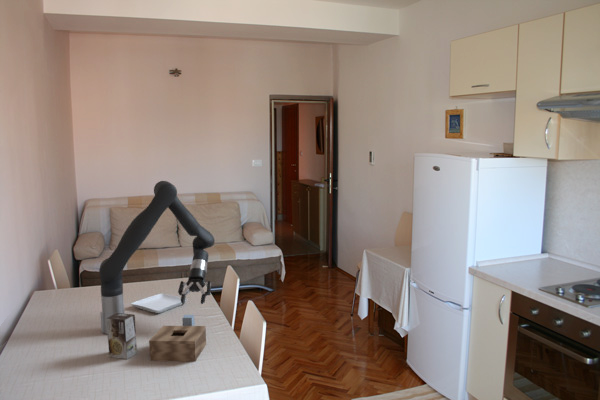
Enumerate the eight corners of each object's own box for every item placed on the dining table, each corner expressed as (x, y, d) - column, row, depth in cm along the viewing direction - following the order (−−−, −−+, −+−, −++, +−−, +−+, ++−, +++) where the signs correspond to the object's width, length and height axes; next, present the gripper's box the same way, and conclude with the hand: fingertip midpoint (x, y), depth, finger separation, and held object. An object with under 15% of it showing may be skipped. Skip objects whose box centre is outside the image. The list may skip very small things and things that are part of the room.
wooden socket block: (150, 360, 189) (149, 340, 188) (164, 343, 205) (163, 325, 204) (195, 361, 188) (194, 341, 187) (206, 344, 204) (205, 325, 203)
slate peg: (183, 340, 209) (182, 317, 208) (186, 336, 213) (185, 314, 212) (192, 340, 208) (191, 317, 207) (195, 336, 212) (194, 314, 211)
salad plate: (189, 304, 257) (189, 298, 257) (158, 316, 240) (157, 310, 239) (161, 298, 269) (161, 292, 268) (130, 309, 251) (129, 303, 250)
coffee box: (137, 353, 197) (135, 314, 195) (127, 359, 191) (124, 319, 189) (119, 350, 200) (116, 312, 198) (108, 356, 194) (105, 317, 192)
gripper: (181, 267, 223) (174, 299, 213) (211, 267, 222) (206, 299, 212) (185, 275, 229) (178, 307, 219) (214, 275, 228) (209, 307, 218)
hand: (192, 303), depth 216 cm, fingers open, 8 cm apart
